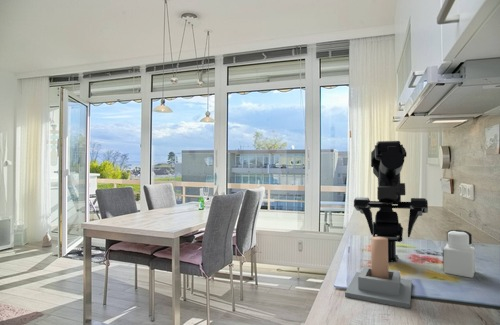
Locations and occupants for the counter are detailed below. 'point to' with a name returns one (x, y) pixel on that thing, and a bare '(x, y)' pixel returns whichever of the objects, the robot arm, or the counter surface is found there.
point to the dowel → (379, 257)
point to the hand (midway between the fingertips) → (390, 235)
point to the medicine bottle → (459, 254)
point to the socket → (380, 288)
